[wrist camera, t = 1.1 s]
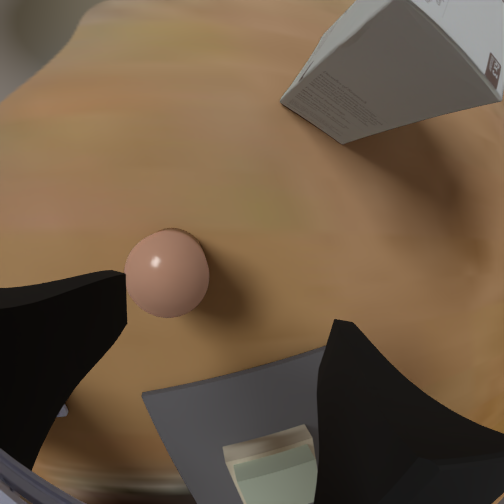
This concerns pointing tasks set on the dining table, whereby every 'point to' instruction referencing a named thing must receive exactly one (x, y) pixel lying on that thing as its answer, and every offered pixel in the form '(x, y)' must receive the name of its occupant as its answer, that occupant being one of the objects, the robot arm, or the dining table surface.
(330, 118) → the skincare box
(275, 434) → the birch slab
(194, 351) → the dining table surface
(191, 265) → the rounded pink dome
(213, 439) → the charcoal mat
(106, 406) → the dining table surface
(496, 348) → the dining table surface
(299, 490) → the sage slab
